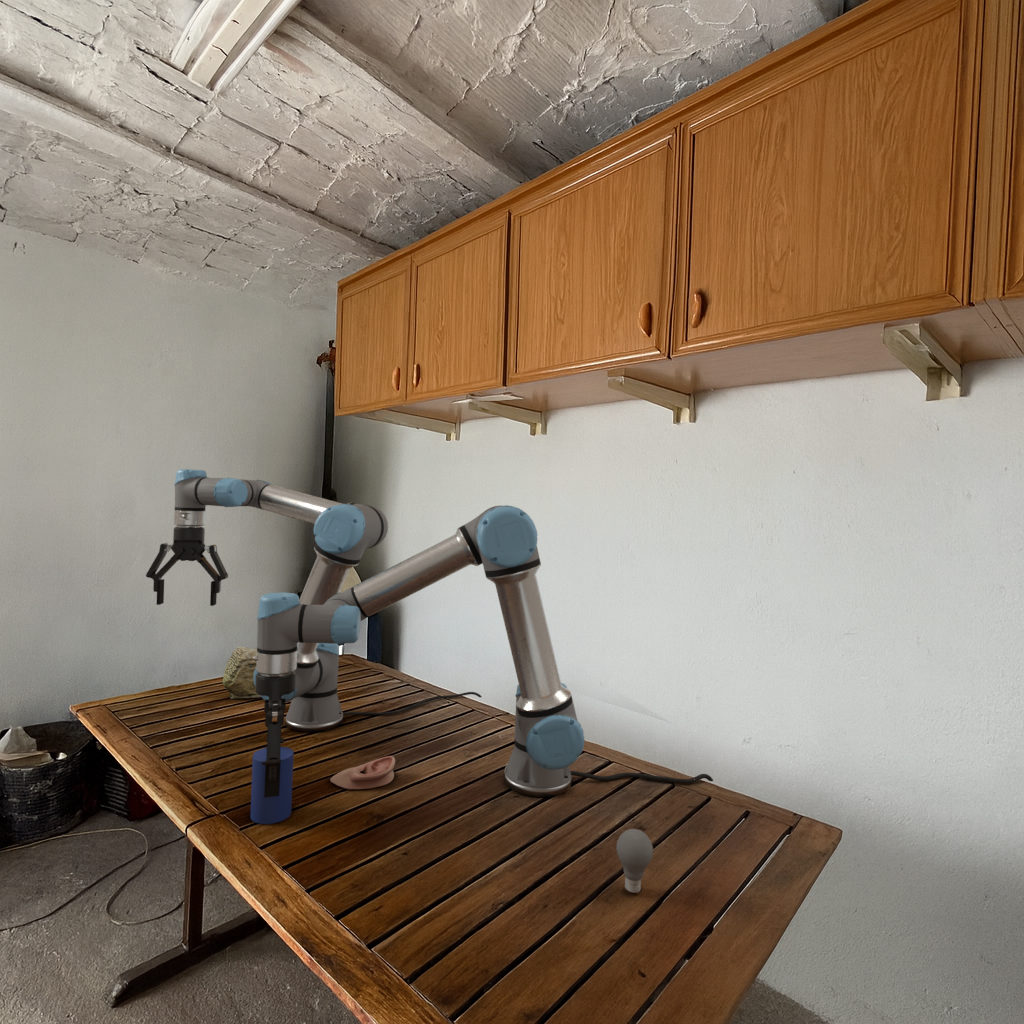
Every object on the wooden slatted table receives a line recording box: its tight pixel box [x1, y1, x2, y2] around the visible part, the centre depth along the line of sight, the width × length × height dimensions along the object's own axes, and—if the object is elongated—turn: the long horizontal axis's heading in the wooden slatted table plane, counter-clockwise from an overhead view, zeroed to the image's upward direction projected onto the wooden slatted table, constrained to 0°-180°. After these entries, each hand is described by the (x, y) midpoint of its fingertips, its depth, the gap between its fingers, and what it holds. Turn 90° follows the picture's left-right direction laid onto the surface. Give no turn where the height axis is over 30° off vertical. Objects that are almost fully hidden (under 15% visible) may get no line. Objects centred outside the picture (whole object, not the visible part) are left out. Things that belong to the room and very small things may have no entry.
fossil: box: [222, 646, 262, 699], centre depth 198 cm, size 9×18×15 cm, turn 132°
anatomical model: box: [330, 755, 396, 790], centre depth 143 cm, size 13×4×12 cm
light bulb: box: [615, 828, 654, 894], centre depth 106 cm, size 6×6×10 cm
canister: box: [250, 746, 295, 825], centre depth 125 cm, size 8×8×12 cm
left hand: (186, 604), depth 172 cm, fingers open, 13 cm apart
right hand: (272, 786), depth 125 cm, fingers closed on canister, 8 cm apart
